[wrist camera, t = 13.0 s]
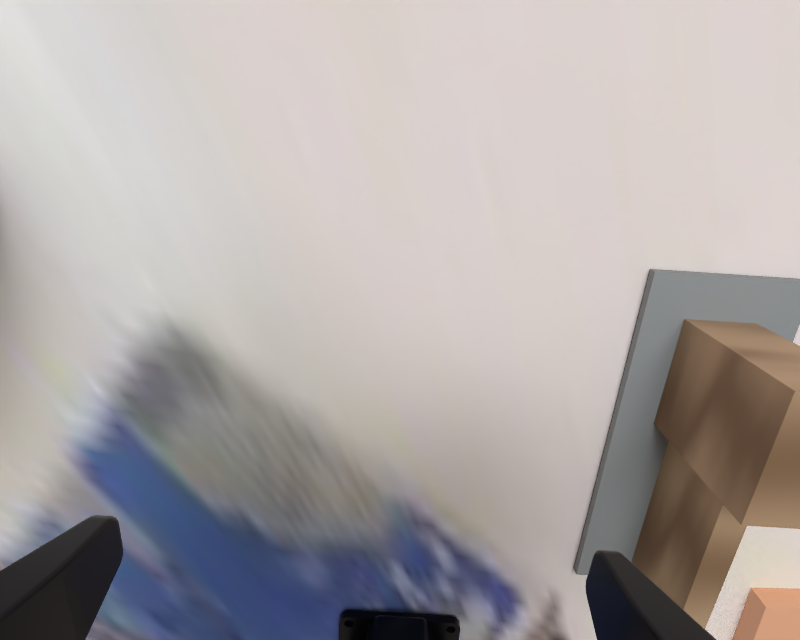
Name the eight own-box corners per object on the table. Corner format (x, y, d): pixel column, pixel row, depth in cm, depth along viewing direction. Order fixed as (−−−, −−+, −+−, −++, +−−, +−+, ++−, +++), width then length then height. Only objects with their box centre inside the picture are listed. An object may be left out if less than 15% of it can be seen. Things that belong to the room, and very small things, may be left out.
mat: (696, 574, 25) (700, 581, 25) (574, 567, 25) (576, 574, 25) (807, 279, 19) (815, 282, 19) (650, 269, 19) (655, 271, 19)
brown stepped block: (672, 563, 24) (753, 691, 19) (613, 559, 24) (676, 686, 19) (756, 323, 20) (896, 397, 14) (684, 319, 20) (795, 391, 14)
